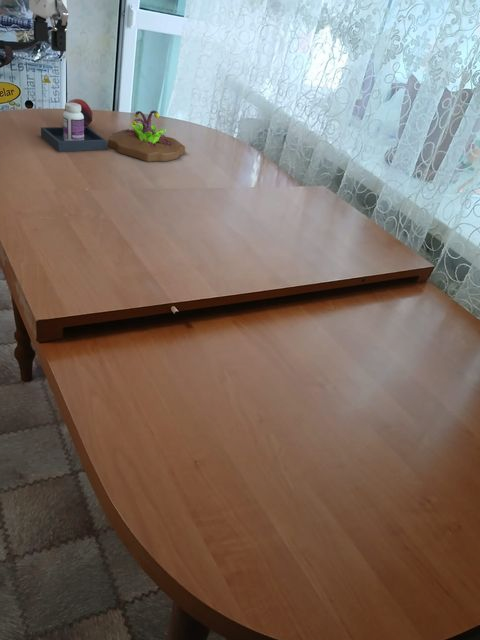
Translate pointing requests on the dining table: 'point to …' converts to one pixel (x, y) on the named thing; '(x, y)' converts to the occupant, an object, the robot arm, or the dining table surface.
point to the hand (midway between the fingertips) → (49, 45)
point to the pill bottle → (73, 122)
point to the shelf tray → (89, 143)
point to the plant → (146, 141)
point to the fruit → (84, 111)
